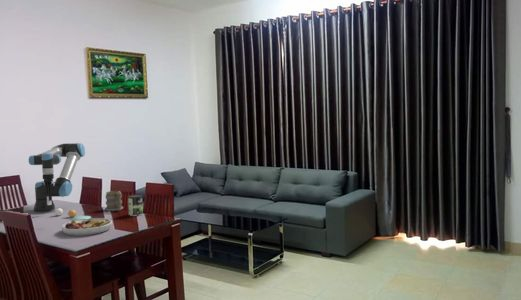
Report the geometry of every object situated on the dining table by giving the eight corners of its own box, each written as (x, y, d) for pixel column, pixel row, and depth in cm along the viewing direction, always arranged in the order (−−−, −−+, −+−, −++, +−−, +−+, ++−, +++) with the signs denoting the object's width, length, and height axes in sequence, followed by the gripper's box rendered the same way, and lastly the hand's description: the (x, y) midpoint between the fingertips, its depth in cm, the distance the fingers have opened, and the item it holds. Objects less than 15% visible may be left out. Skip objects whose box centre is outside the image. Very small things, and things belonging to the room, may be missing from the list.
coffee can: (145, 213, 324) (144, 194, 323) (138, 216, 314) (138, 197, 313) (132, 212, 326) (132, 194, 325) (126, 215, 316) (125, 197, 315)
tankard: (103, 209, 342) (102, 190, 341) (119, 207, 350) (118, 188, 349) (112, 213, 326) (112, 193, 325) (128, 210, 334) (128, 191, 333)
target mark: (65, 219, 307) (65, 219, 307) (81, 215, 320) (81, 215, 320) (79, 221, 301) (79, 220, 301) (95, 217, 314) (95, 216, 314)
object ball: (66, 217, 313) (66, 210, 313) (72, 216, 318) (72, 208, 318) (71, 218, 311) (71, 210, 310) (77, 216, 316) (77, 209, 315)
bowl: (86, 223, 295) (86, 212, 294) (122, 227, 284) (121, 215, 283) (50, 235, 267) (50, 222, 266) (88, 239, 256) (88, 226, 255)
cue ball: (53, 216, 320) (53, 208, 319) (59, 214, 324) (59, 207, 324) (58, 216, 317) (58, 209, 317) (64, 215, 322) (64, 207, 322)
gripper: (37, 174, 323) (39, 205, 324) (49, 174, 317) (50, 206, 318) (46, 172, 329) (48, 203, 331) (58, 173, 323) (59, 204, 325)
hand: (49, 204), depth 324 cm, fingers closed
